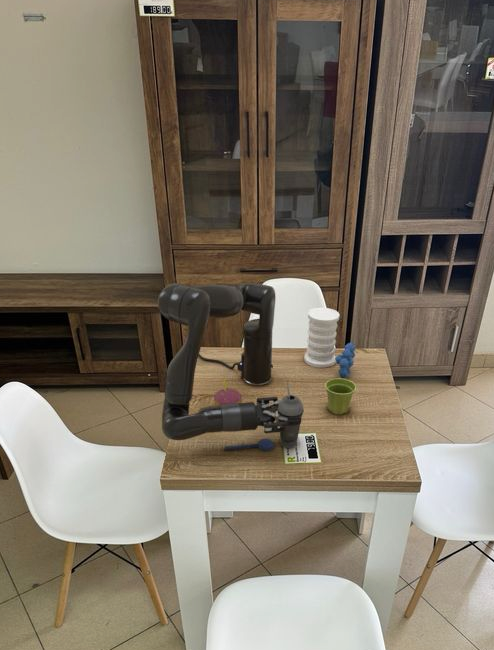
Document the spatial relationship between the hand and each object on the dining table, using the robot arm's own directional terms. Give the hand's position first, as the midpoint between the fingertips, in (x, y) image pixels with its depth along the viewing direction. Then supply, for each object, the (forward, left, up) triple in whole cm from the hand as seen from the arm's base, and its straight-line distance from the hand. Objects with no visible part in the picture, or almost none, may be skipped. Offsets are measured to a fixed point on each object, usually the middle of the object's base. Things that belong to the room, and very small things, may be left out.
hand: (297, 412), depth 149 cm
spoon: (-9, -9, -10) cm, 17 cm away
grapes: (-8, +42, -11) cm, 44 cm away
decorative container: (-20, +47, -11) cm, 52 cm away
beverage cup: (-2, -2, -11) cm, 11 cm away
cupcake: (-26, +1, -11) cm, 28 cm away
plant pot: (+1, +22, -11) cm, 25 cm away
